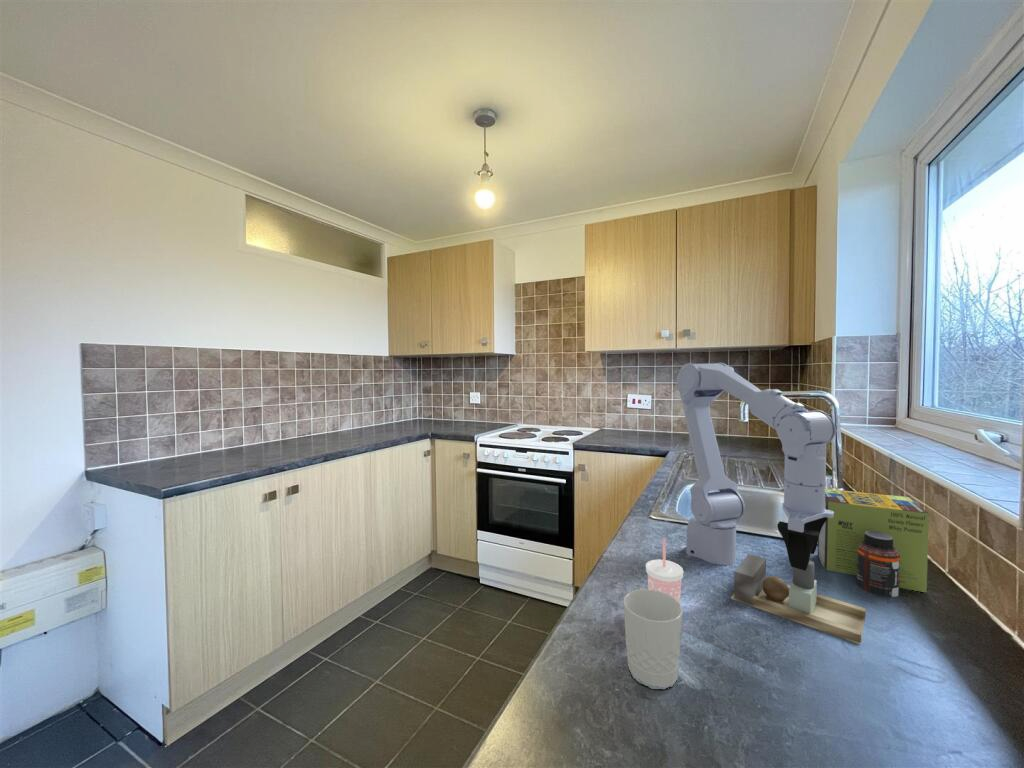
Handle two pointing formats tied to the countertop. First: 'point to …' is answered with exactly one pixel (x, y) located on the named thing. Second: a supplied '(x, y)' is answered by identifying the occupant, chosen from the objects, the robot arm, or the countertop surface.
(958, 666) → the countertop surface
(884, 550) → the supplement bottle
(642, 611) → the white cup
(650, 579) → the beverage cup
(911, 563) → the protein box
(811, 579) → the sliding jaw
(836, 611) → the base
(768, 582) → the nut
